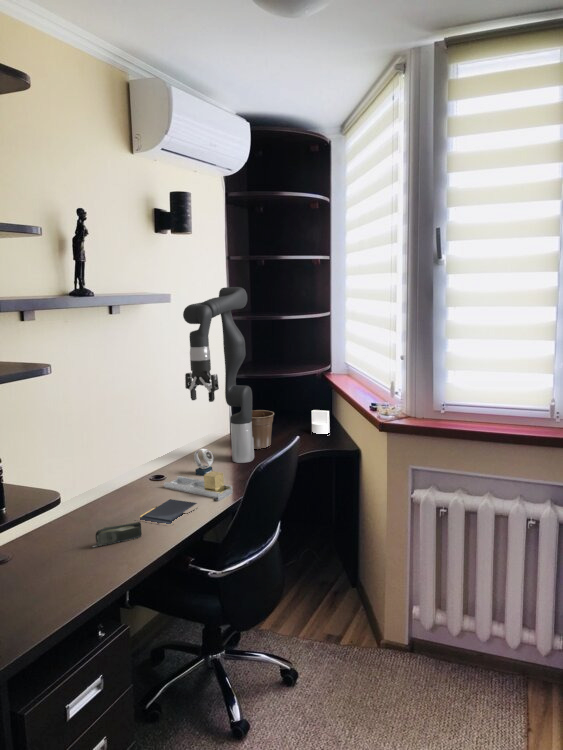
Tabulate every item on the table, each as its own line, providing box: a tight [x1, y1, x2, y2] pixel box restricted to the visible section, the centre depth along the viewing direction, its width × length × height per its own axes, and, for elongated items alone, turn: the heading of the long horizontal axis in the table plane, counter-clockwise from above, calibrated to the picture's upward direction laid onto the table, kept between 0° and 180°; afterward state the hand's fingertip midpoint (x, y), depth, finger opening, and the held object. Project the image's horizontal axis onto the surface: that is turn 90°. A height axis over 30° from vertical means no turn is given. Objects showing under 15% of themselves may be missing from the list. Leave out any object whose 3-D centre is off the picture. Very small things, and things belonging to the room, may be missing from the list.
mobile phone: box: [91, 521, 143, 549], centre depth 176 cm, size 5×3×15 cm
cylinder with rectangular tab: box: [311, 409, 331, 434], centre depth 293 cm, size 9×9×12 cm
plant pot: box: [252, 409, 275, 450], centre depth 274 cm, size 16×16×16 cm
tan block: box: [203, 470, 225, 493], centre depth 212 cm, size 5×5×7 cm
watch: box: [193, 448, 214, 477], centre depth 234 cm, size 6×8×11 cm
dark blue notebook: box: [139, 498, 198, 524], centre depth 198 cm, size 20×2×15 cm
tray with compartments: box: [163, 475, 233, 502], centre depth 216 cm, size 8×26×3 cm, turn 58°
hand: (202, 400), depth 219 cm, fingers open, 8 cm apart
